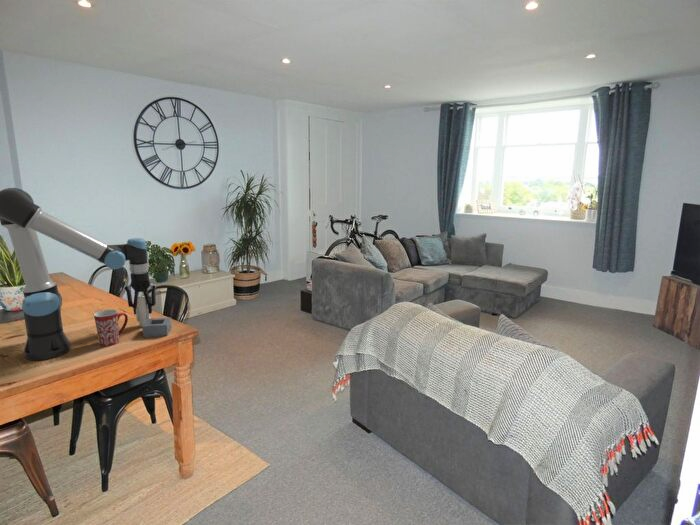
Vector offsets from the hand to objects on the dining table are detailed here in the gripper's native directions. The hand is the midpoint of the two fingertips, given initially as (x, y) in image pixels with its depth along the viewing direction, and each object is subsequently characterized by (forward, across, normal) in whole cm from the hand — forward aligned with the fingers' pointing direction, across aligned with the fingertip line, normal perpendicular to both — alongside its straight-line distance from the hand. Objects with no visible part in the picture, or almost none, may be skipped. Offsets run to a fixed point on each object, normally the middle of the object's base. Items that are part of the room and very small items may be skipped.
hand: (143, 320), depth 199 cm
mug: (+3, +8, +18) cm, 20 cm away
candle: (+3, 0, 0) cm, 3 cm away
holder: (+3, -8, +10) cm, 13 cm away
